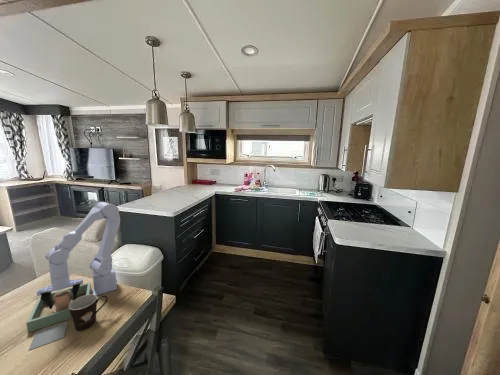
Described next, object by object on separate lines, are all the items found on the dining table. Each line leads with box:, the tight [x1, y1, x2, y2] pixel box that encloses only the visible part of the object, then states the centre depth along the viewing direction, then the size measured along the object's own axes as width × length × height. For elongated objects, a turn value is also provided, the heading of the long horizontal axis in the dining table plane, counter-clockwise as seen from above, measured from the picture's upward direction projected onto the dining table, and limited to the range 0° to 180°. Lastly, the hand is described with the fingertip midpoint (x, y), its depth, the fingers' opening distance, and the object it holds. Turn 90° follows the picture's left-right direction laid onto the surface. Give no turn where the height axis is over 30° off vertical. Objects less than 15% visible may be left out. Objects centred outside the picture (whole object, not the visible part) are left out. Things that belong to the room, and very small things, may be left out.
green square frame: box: [26, 281, 92, 333], centre depth 89 cm, size 18×18×4 cm
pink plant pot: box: [53, 289, 72, 312], centre depth 88 cm, size 5×5×7 cm
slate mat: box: [28, 320, 68, 351], centre depth 76 cm, size 9×9×1 cm
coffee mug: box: [69, 293, 109, 332], centre depth 80 cm, size 12×9×10 cm
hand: (63, 304), depth 89 cm, fingers open, 7 cm apart
